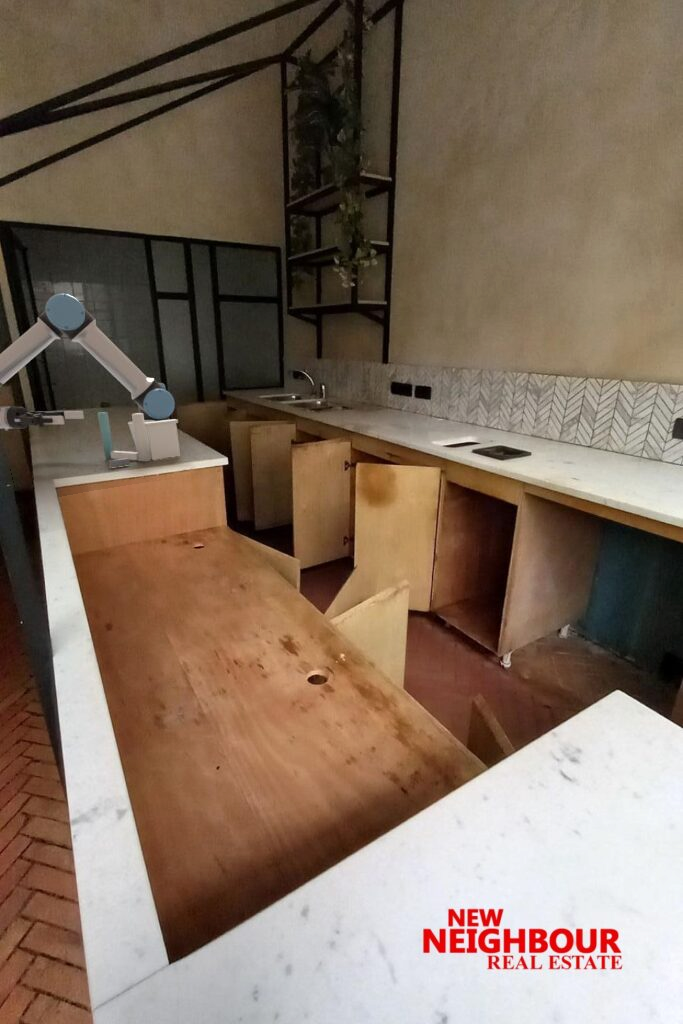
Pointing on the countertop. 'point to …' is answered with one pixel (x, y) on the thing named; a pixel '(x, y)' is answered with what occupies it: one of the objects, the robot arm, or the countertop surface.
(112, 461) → the latch block
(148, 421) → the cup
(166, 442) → the fence stub
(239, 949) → the countertop surface
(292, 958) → the countertop surface
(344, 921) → the countertop surface
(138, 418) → the gate
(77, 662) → the countertop surface
